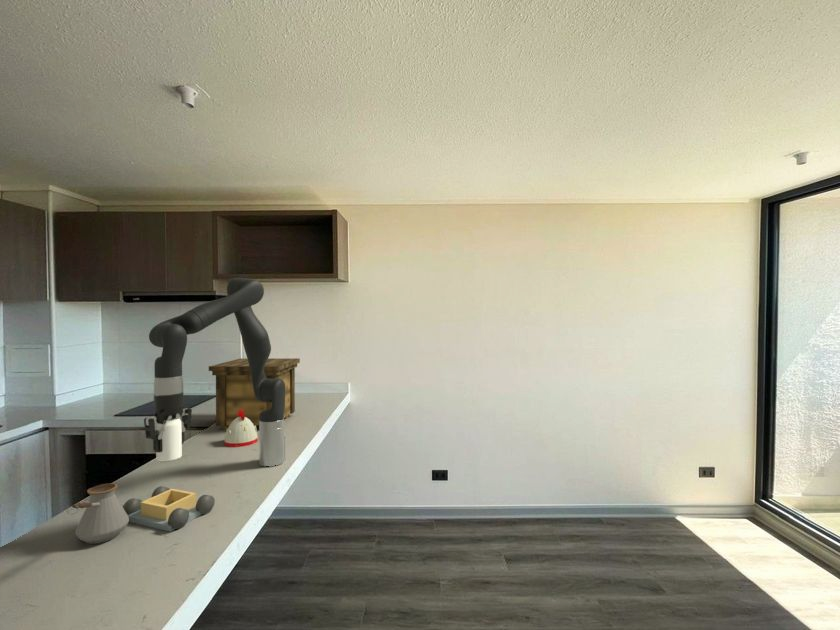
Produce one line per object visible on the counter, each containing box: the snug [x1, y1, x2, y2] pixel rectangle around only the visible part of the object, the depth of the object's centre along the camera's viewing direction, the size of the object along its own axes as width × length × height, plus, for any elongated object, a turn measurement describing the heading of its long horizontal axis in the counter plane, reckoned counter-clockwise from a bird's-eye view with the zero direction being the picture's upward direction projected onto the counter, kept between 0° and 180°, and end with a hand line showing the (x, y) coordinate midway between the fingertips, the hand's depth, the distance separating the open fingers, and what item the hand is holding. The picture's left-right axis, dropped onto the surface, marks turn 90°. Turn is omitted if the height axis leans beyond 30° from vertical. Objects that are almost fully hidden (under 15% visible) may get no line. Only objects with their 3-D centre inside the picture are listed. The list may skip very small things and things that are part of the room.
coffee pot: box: [66, 483, 130, 545], centre depth 107 cm, size 21×12×15 cm, turn 16°
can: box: [155, 417, 183, 463], centre depth 124 cm, size 6×6×12 cm
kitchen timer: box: [224, 409, 259, 448], centre depth 193 cm, size 14×14×15 cm
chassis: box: [122, 485, 216, 532], centre depth 124 cm, size 14×20×5 cm
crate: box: [208, 357, 301, 430], centre depth 227 cm, size 35×35×33 cm
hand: (169, 447), depth 124 cm, fingers closed on can, 6 cm apart
